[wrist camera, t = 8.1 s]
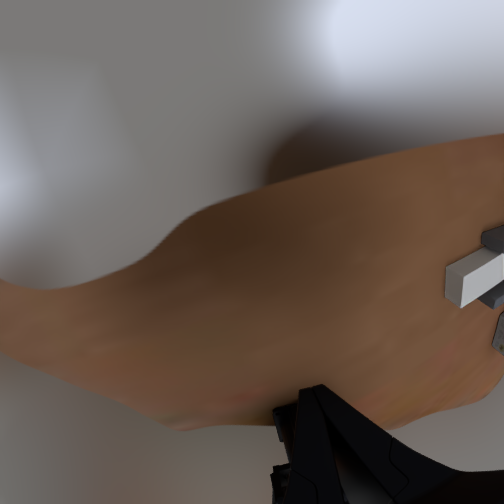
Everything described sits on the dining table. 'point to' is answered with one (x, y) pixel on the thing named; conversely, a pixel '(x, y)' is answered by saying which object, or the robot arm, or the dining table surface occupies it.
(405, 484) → the robot arm
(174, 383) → the dining table surface
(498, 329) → the coffee box
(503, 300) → the end cap
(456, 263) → the slat
